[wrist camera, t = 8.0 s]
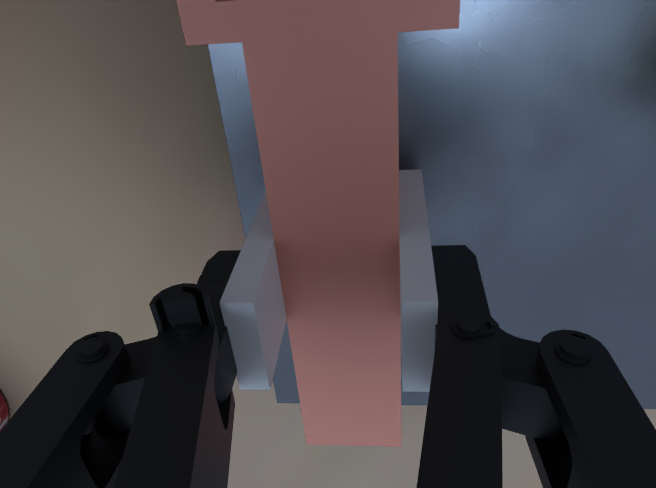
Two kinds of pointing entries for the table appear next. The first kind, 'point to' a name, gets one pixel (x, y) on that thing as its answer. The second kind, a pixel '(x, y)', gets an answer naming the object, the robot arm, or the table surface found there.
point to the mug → (3, 412)
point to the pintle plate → (520, 165)
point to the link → (331, 189)
